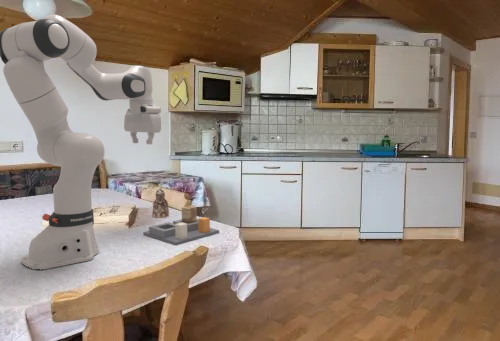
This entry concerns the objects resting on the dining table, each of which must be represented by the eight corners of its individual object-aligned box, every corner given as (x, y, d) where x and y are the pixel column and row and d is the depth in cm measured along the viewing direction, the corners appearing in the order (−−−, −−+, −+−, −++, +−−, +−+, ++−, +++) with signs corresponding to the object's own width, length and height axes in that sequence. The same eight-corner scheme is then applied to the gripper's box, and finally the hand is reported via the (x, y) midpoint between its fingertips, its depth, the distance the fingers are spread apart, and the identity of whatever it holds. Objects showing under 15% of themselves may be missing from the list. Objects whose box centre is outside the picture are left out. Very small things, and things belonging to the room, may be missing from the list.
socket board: (175, 245, 146) (175, 228, 145) (143, 234, 159) (142, 219, 158) (219, 232, 162) (219, 217, 161) (186, 224, 174) (186, 209, 173)
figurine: (151, 218, 184) (150, 190, 183) (154, 214, 191) (153, 188, 190) (167, 217, 185) (166, 190, 183) (169, 214, 192) (169, 188, 190)
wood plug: (188, 229, 163) (188, 208, 162) (182, 227, 165) (181, 207, 164) (196, 227, 166) (196, 207, 165) (189, 225, 168) (189, 205, 167)
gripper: (119, 108, 171) (120, 142, 173) (149, 108, 157) (150, 145, 159) (133, 108, 175) (134, 142, 177) (163, 108, 162) (164, 144, 164)
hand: (142, 143), depth 168 cm, fingers open, 8 cm apart
